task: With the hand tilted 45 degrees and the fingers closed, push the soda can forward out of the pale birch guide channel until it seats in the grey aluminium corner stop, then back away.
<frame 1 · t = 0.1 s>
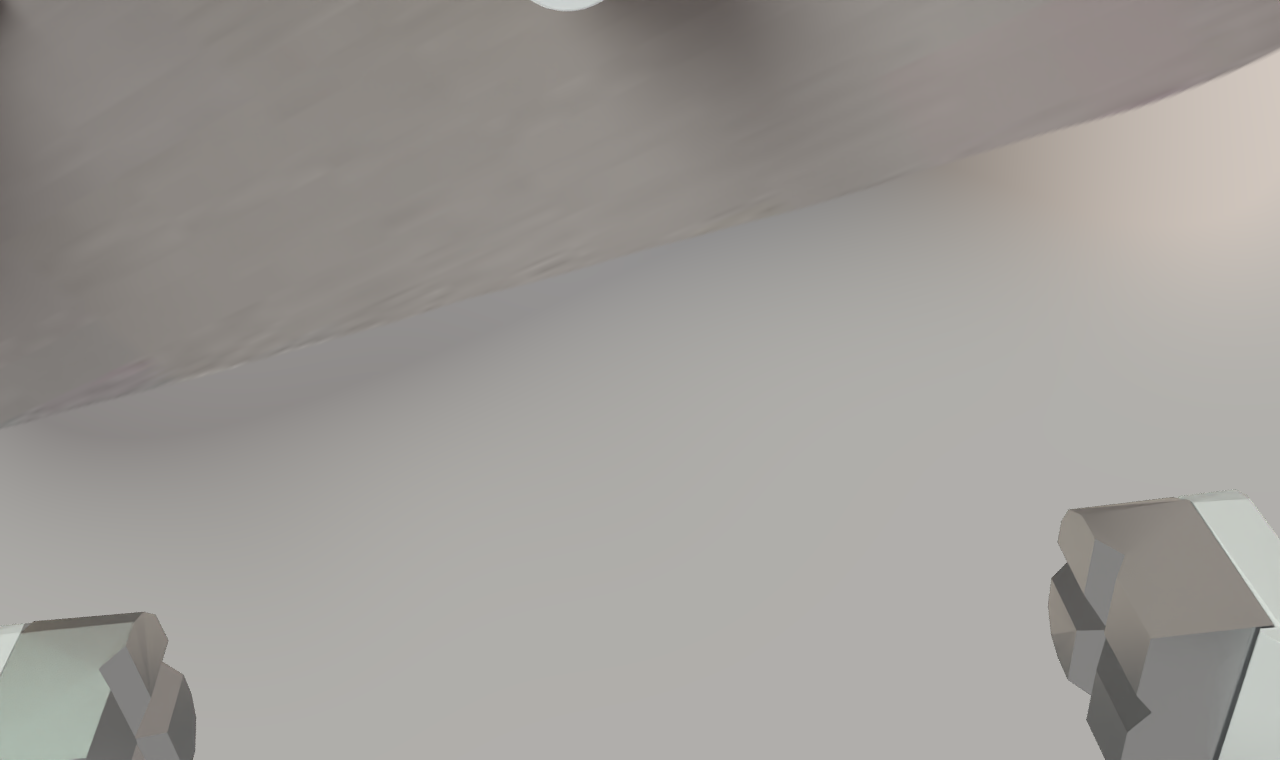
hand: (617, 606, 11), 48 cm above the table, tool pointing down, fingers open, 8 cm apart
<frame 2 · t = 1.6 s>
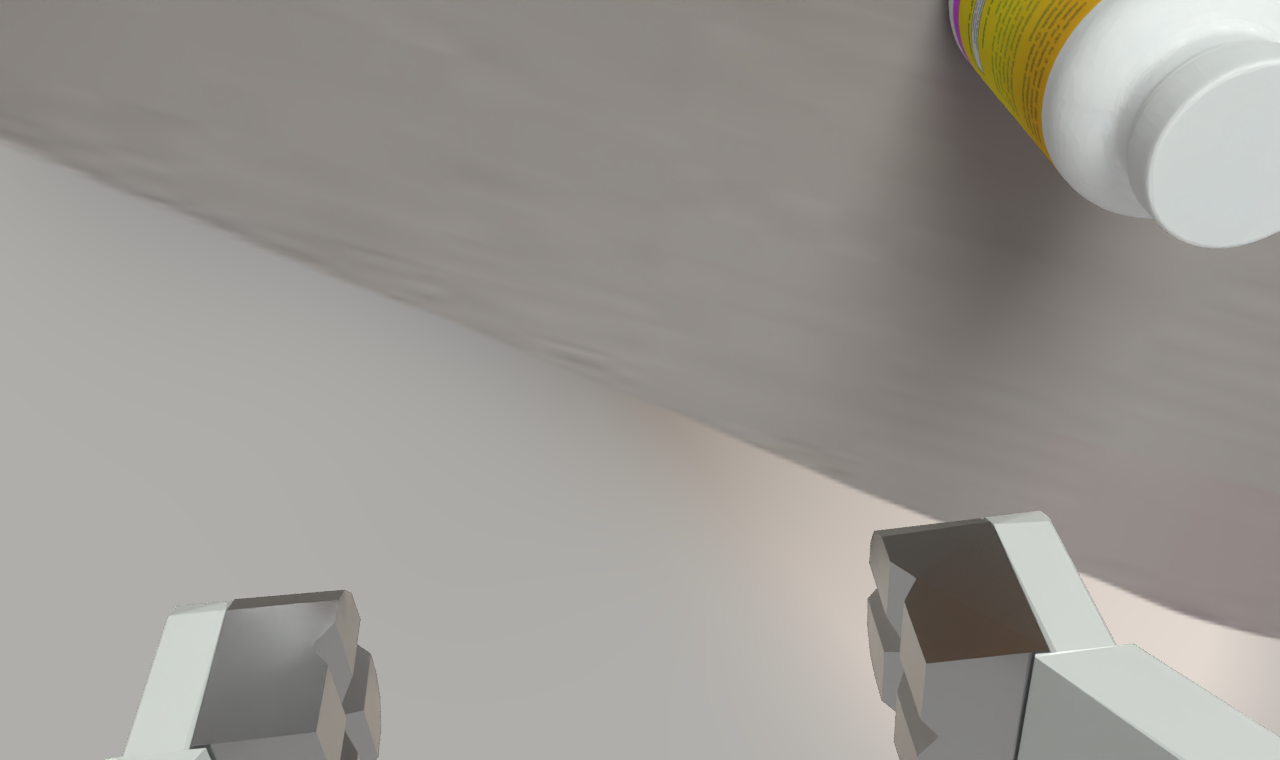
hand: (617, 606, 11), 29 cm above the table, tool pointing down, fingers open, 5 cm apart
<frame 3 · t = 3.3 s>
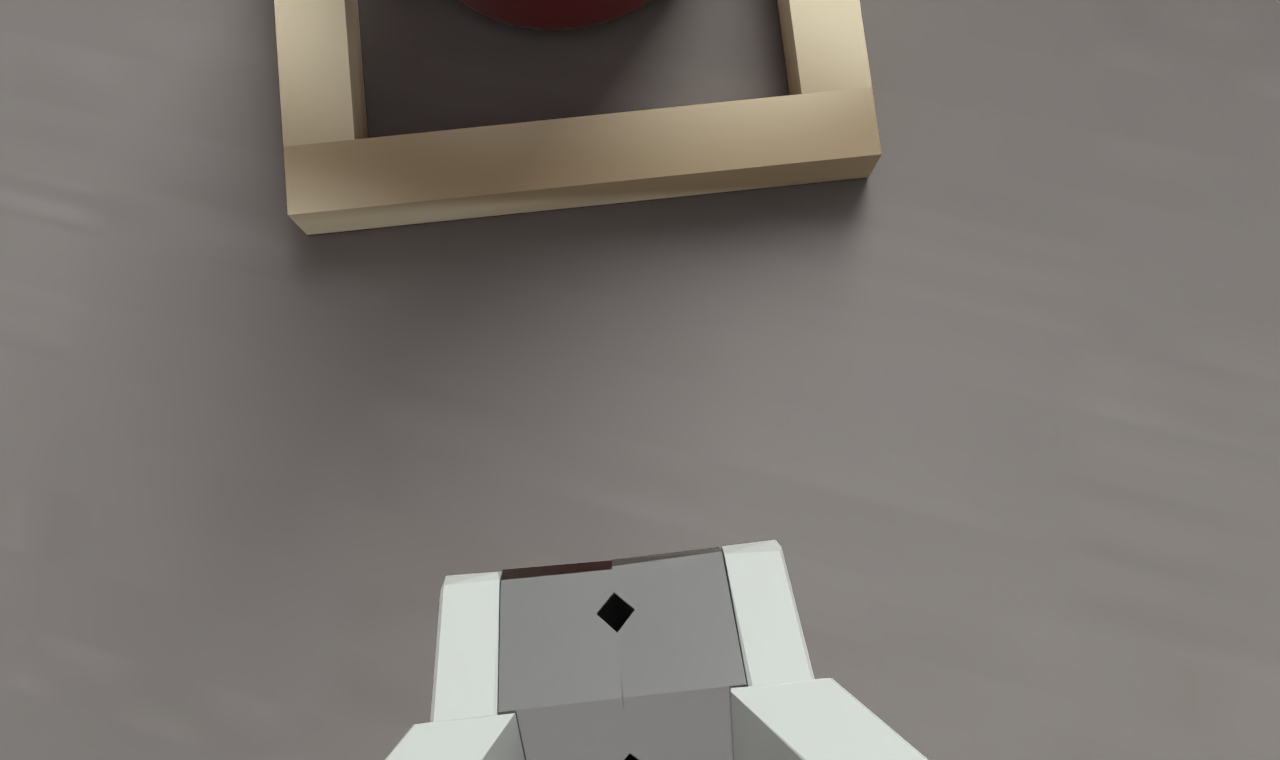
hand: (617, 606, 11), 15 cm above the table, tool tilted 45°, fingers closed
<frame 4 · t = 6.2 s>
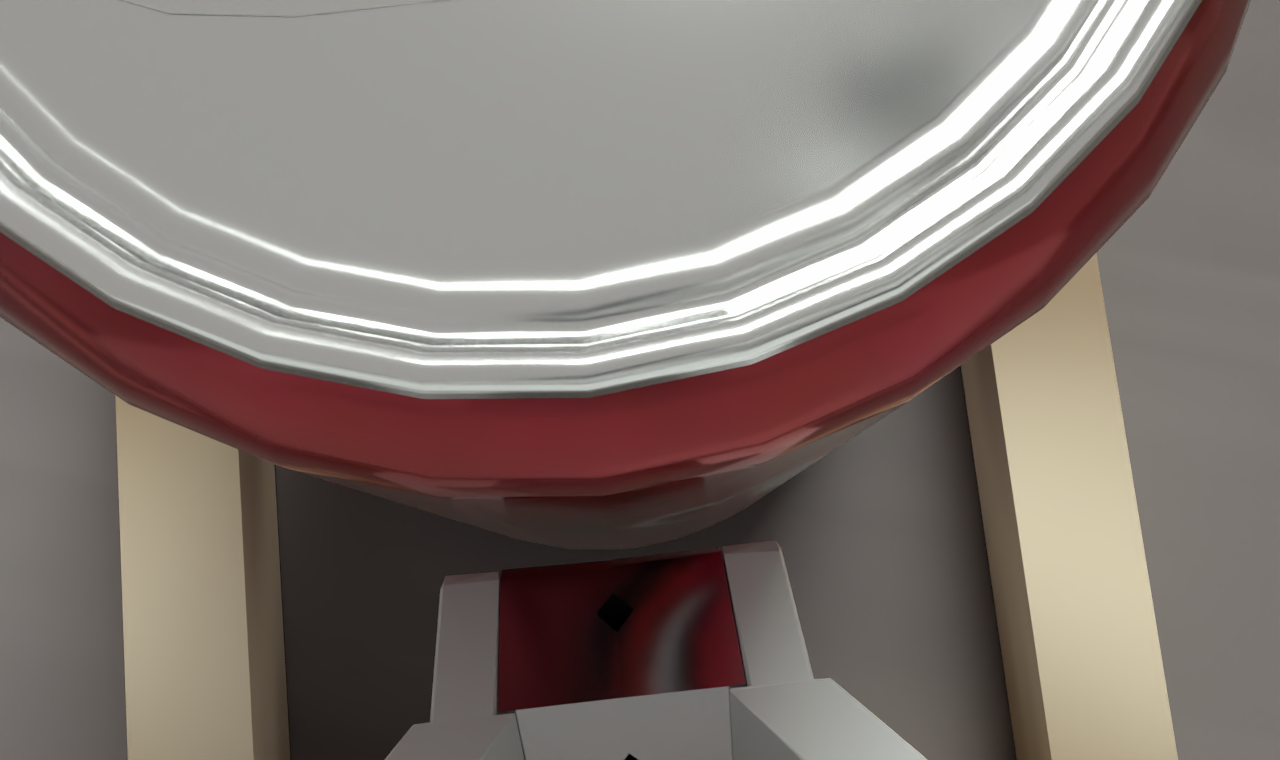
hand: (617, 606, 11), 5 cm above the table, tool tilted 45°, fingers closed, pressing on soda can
guide channel: (607, 287, 17), on the table
soda can: (601, 291, 17), on the table, touching gripper
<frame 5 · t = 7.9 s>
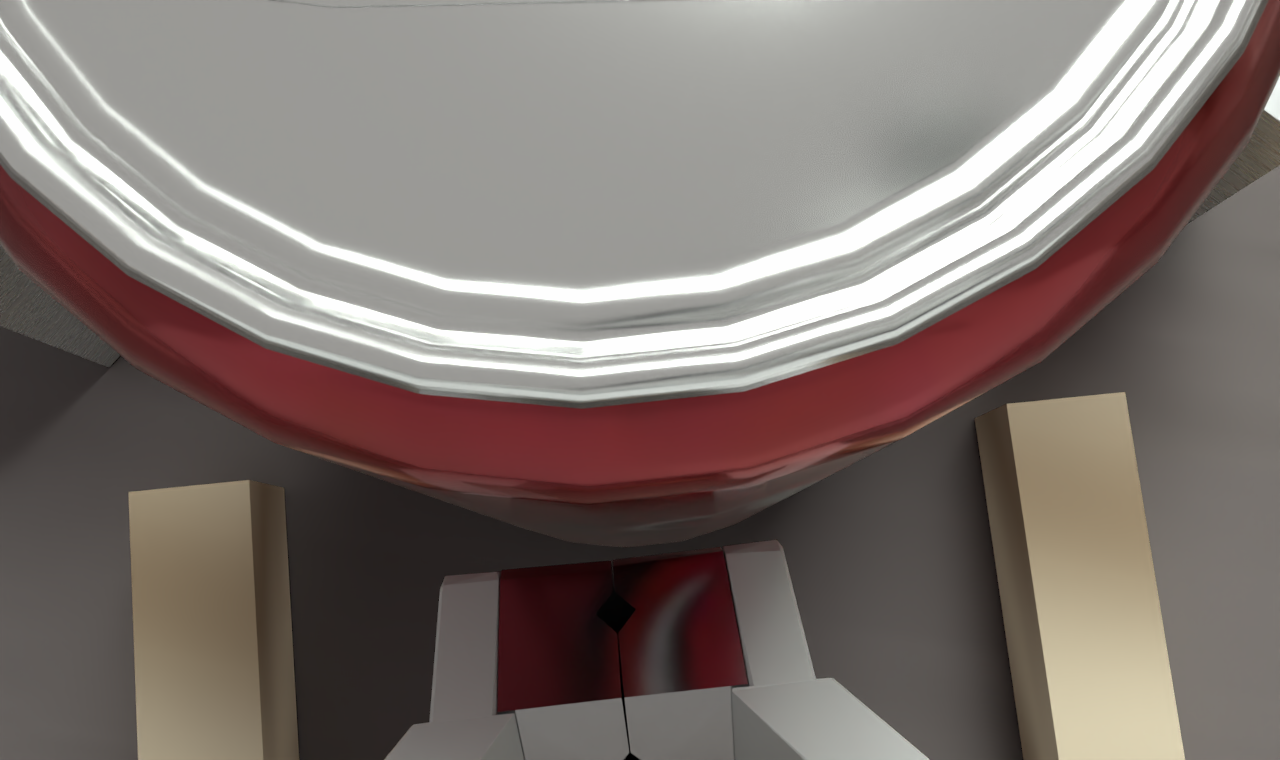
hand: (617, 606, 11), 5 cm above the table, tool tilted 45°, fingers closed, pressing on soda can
soda can: (625, 289, 17), on the table, touching gripper
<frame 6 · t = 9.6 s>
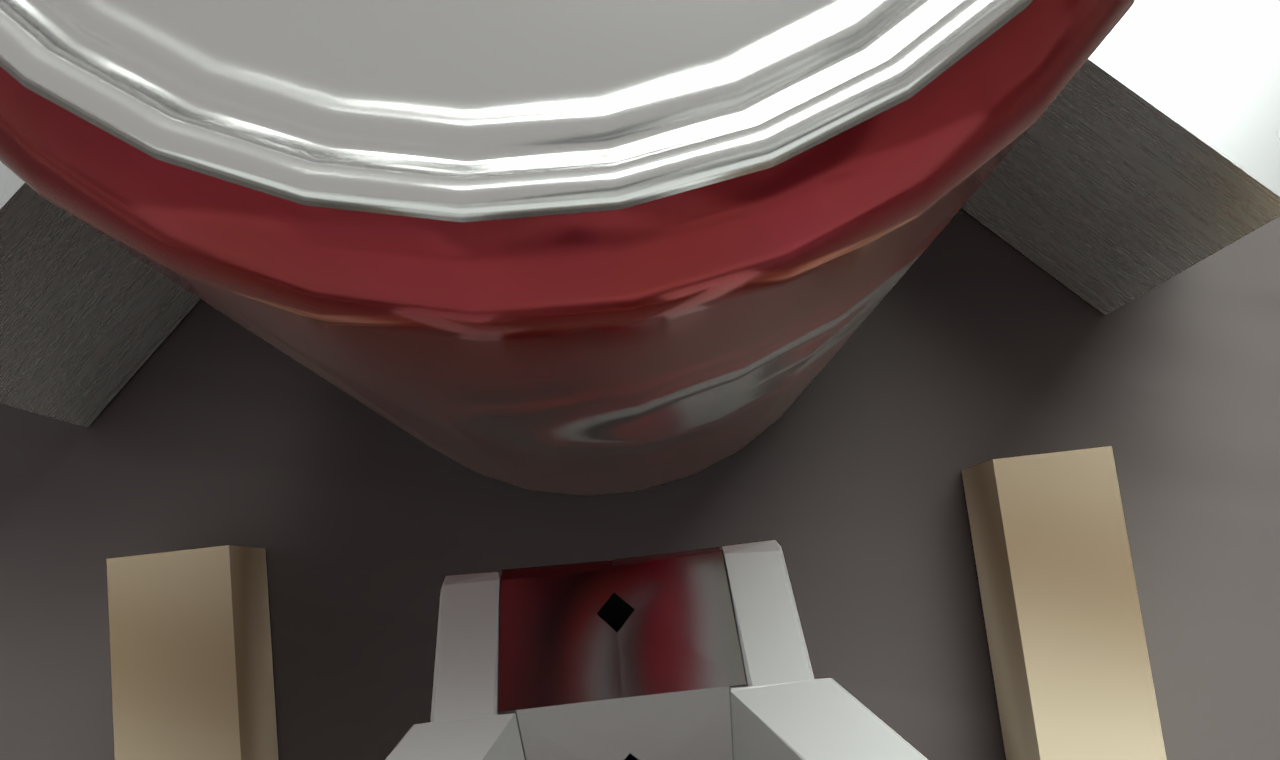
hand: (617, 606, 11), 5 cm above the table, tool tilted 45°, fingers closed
soda can: (591, 244, 17), on the table
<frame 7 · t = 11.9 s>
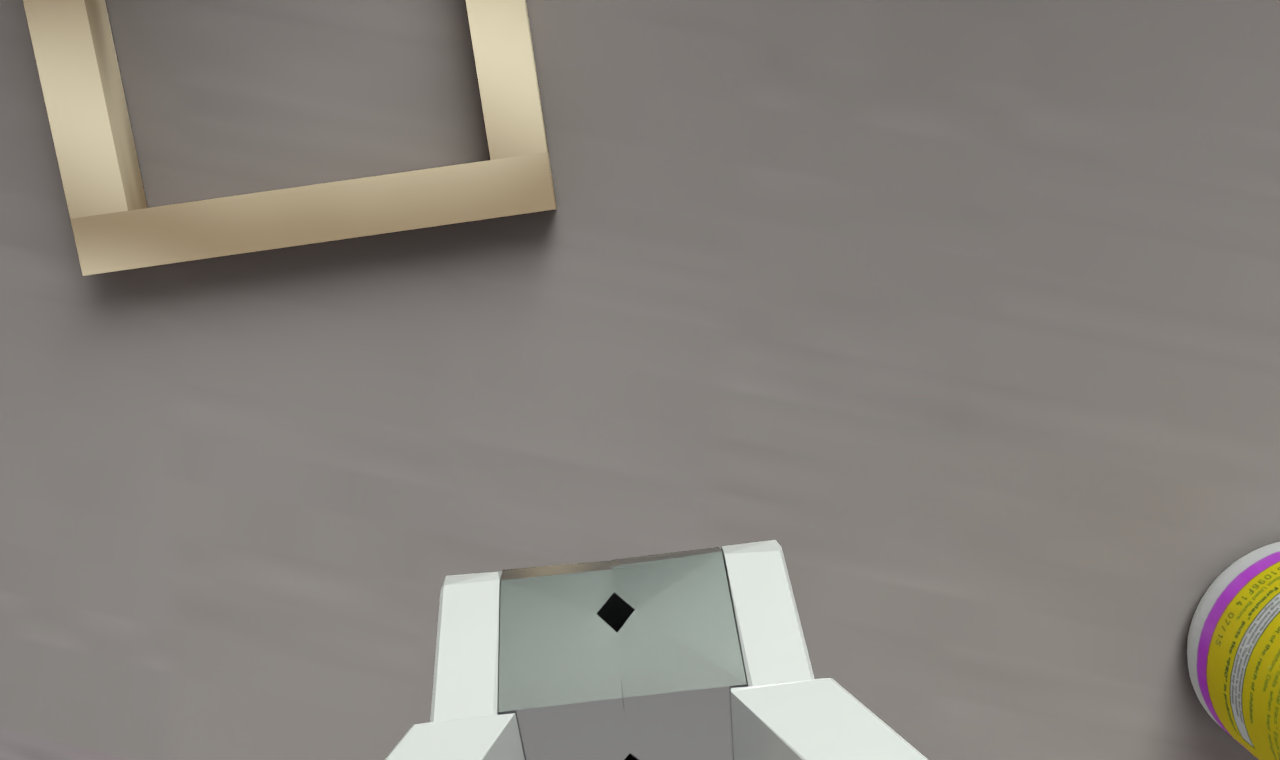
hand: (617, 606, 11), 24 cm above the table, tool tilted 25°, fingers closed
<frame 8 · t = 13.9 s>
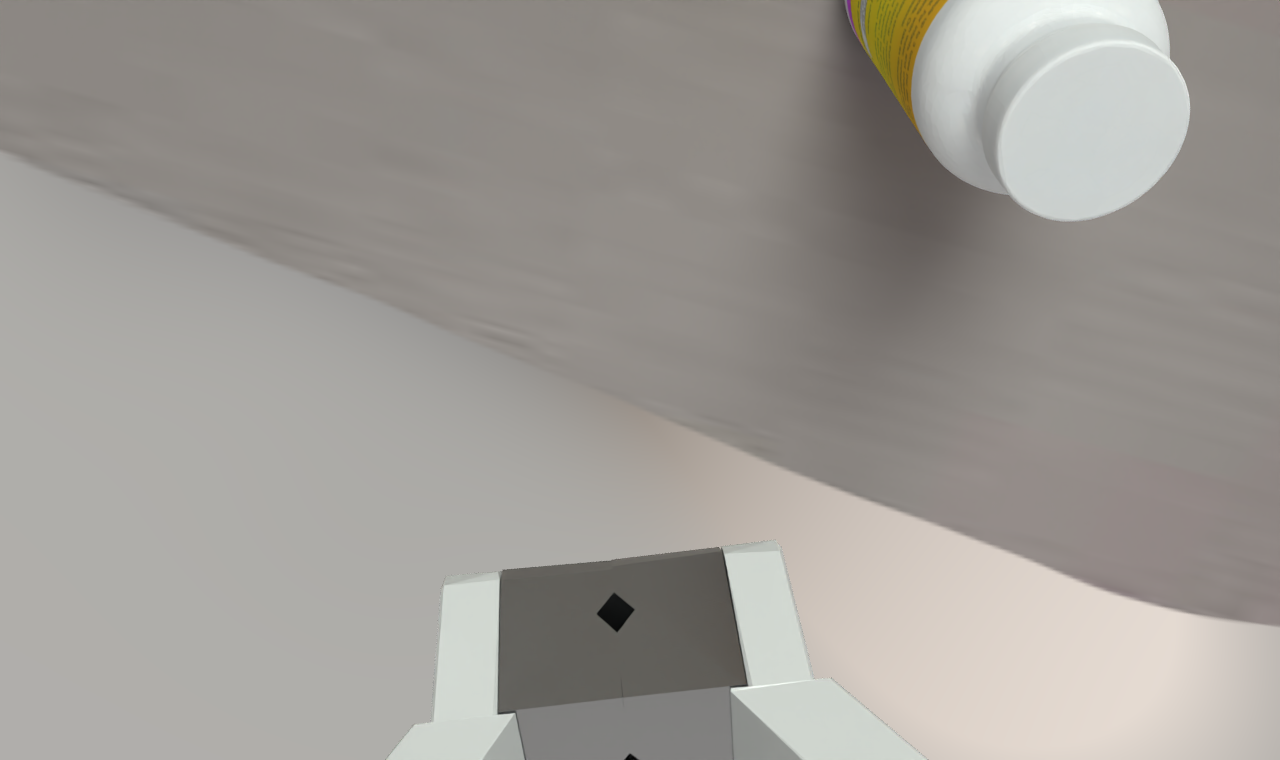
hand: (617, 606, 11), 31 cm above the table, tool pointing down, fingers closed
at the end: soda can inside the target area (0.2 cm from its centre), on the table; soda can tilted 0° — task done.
